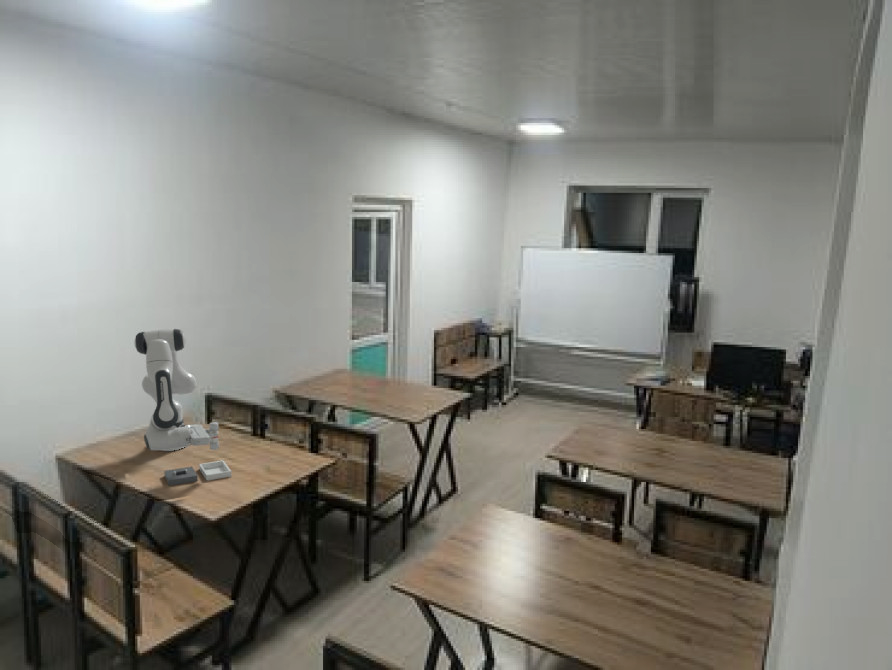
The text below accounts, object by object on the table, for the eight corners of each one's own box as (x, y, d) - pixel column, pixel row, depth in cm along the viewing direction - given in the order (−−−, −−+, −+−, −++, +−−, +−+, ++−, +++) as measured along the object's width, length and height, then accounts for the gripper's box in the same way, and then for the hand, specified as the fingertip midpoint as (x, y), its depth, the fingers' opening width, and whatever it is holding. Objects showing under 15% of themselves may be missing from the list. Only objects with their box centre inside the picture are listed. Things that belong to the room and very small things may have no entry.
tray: (199, 471, 307) (199, 464, 306) (223, 467, 312) (223, 460, 312) (206, 482, 294) (206, 475, 294) (231, 478, 300) (231, 471, 299)
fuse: (209, 447, 301) (208, 422, 299) (217, 446, 303) (217, 421, 301) (211, 450, 298) (210, 425, 296) (219, 448, 300) (219, 423, 298)
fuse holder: (164, 478, 297) (164, 468, 296) (192, 473, 304) (191, 463, 303) (169, 487, 287) (168, 477, 286) (197, 482, 294) (197, 473, 293)
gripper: (188, 437, 284) (221, 432, 291) (179, 423, 301) (211, 419, 308) (189, 450, 285) (221, 446, 292) (180, 436, 302) (211, 432, 309)
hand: (216, 432), depth 300 cm, fingers closed on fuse, 3 cm apart
